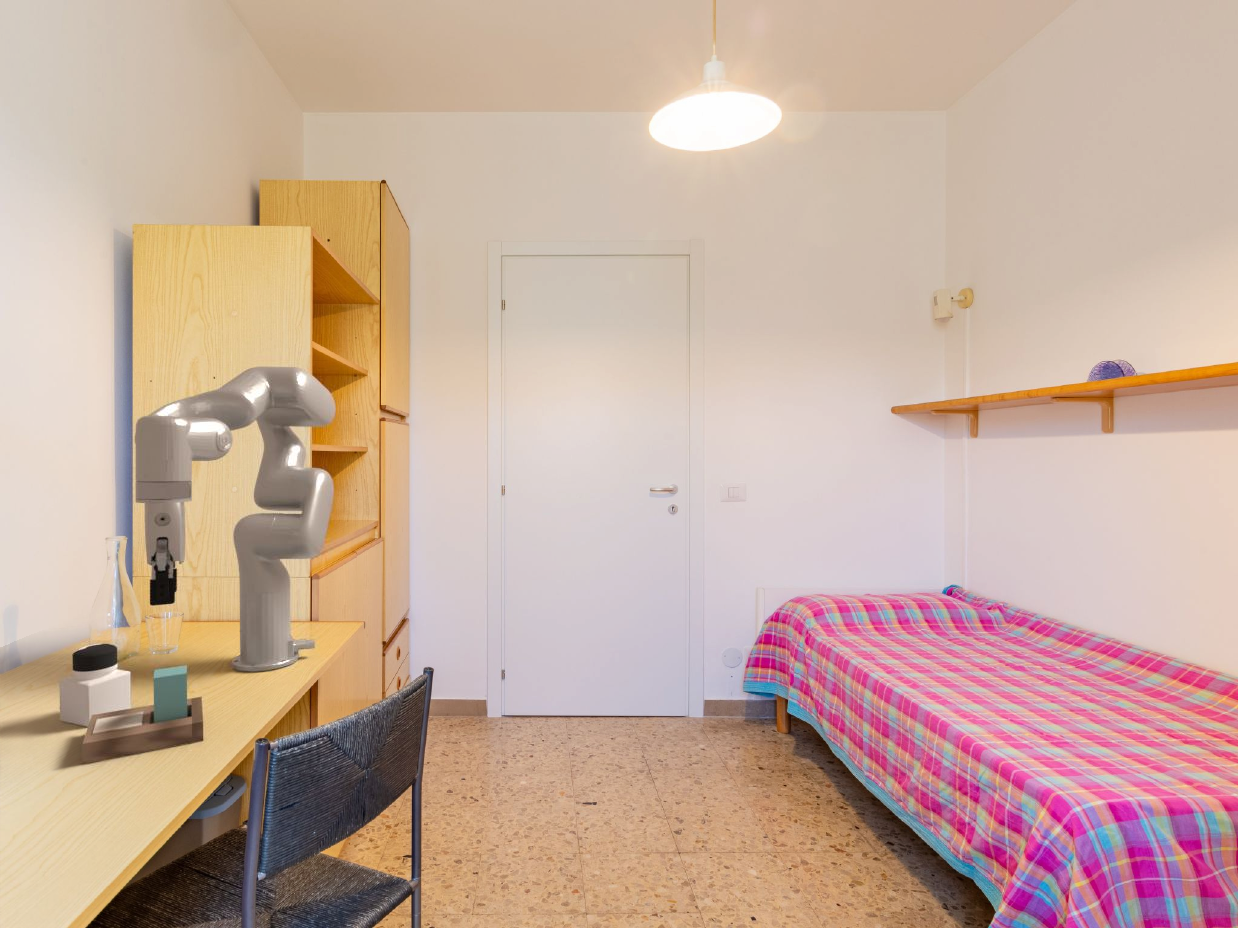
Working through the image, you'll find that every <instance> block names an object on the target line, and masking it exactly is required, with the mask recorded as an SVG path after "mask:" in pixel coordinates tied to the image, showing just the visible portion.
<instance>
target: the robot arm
mask: <svg viewBox="0 0 1238 928" xmlns="http://www.w3.org/2000/svg"><path fill="white" fill-rule="evenodd" d="M336 409H337V407H336V401H335V400H334V397H333V395H332V393H331V392H330V391H329V389H328V388H326V386H325V385H323V384H322V383H321V382H320V380H318V379H317V378H316V376H313V375H312V373H309V372H308V371H306V370H305V369H303V368H301V367H298V366H297V367H296V366H254V367H250V368H247V369H246V370H244V371H242V372H241V373H239V374H238V375H236V376H235V377H234V378H232V379H230V380H229V381H228V382H226V383H225V384H223V385H222V386H221V387H219V388H216V389H214V390H210V391H205V392H202V393H199V394H196V395H193V396H189V397H186V398H181V399H178V400H175V401H172V402H169V403H167V404H165V405H163V406H161V407H159V408H157V409H156V410H154V411H152V412H151V413H150V414H148V415H144V416H141V417H139V418H138V419H137V421H136V423H135V433H134V444H135V503H136V504H137V503H138V504H139V503H140V504H144V540H145V541H144V542H145V552H146V563H147V565H150V566H151V576H150V577H151V578H150V579H149V605H150V606H163V605H172V604H174V603H175V602H176V592H177V591H178V569H177V568H176V562H178V563H179V565H182V564H183V563H184V562H185V560H186V514H185V513H186V511H185V510H186V509H185V503H187V502H192V501H193V500H192V499H193V498H192V496H193V494H192V492H193V491H192V489H193V488H192V487H193V485H192V484H193V482H192V479H193V477H192V475H193V474H192V472H193V471H192V470H193V469H192V467H193V465H192V462H210V461H216V460H220V459H222V458H224V457H225V456H226V455H227V454H229V452H230V451H231V448H232V446H233V440H234V439H233V434H232V431H235V430H240V429H244V428H246V427H249V426H250V425H252V424H253V423H254V422H255V421H256V424H257V426H258V428H259V431H260V434H261V437H262V442H263V452H262V458H261V461H260V465H259V467H258V468H259V469H258V473H257V477H256V481H255V485H254V489H253V501H254V503H255V505H256V506H257V507H258V508H260V509H262V510H266V511H277V513H276V512H273V513H271V512H269V513H267V512H262V513H261V512H260V513H259V512H258V513H253V514H252V513H251V514H249V515H246V516H244V517H242V518H240V519H239V520H238V522H237V523H236V524H235V525H234V529H233V544H234V549H235V553H236V558H237V565H238V574H239V576H238V579H239V651H240V652H239V655H237V656H235V657H233V658H232V660H231V667H232V668H233V670H236V671H239V672H262V671H270V670H271V671H272V670H276V669H281V668H284V667H287V666H289V665H292V664H294V663H296V662H297V661H299V660H298V659H299V656H300V655H299V654H300V653H299V652H300V650H310V649H315V648H316V645H315V638H313V639H312V638H311V639H307V638H301V639H295V638H293V636H292V634H291V633H292V632H291V578H290V574H289V571H288V570H287V568H286V566H285V565H284V563H283V562H282V561H281V560H309V559H313V558H316V557H318V556H319V554H320V553H321V552H322V550H323V548H324V546H325V541H326V536H327V533H328V527H329V521H330V518H331V513H332V509H333V508H332V507H333V503H334V495H335V486H334V480H333V478H332V476H331V474H330V473H329V472H328V470H326V469H322V468H319V467H304V466H305V460H306V455H307V451H306V448H305V446H304V443H303V441H302V440H301V439H300V438H299V437H298V436H297V435H296V433H295V432H294V431H293V429H292V428H291V427H293V428H294V427H295V428H296V427H304V428H305V427H306V428H307V427H308V428H309V427H310V428H311V427H312V428H313V427H314V428H316V427H317V428H319V427H321V428H322V427H326V426H328V425H329V424H331V423H332V422H333V420H334V418H335V416H336V411H337V410H336ZM278 512H279V513H278ZM280 512H301V513H280Z"/></svg>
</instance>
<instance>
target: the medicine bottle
mask: <svg viewBox="0 0 1238 928" xmlns="http://www.w3.org/2000/svg"><path fill="white" fill-rule="evenodd" d="M71 657H72V660H71V661H72V675H70V676H68V677H64V678H61V679H59V680H58V682H59V685H58V686H59V691H58V692H59V720H60V722H63V723H67V724H68V723H69V724H74V725H77V726H82V727H87V728H88V725H89V722H90V719H91V716H92V715H95V714H101V713H107V712H113V711H119V710H125V709H131V708H132V682H131V678H132V677H131V676H132V675H131V674H132V673H131V671H130V670H129V671H127V670H124V669H118V664H119V663H118V646H116V645H114V644H110V643H95V644H90V645H89V644H88V645H86V646H82V647H80V648H78V649H76V650H75V651H74V652H73V653H72V656H71Z"/></svg>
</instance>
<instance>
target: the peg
mask: <svg viewBox="0 0 1238 928" xmlns="http://www.w3.org/2000/svg"><path fill="white" fill-rule="evenodd" d="M187 668H188V666H187V664H185V665H178V666H172V667H165V668H159V669H154V672H153V678H152V679H153V705H154V723H159V722H164V721H170V720H175V719H181V718H186V717H187V699H188V673H187V672H188V669H187Z"/></svg>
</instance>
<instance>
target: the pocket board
mask: <svg viewBox="0 0 1238 928" xmlns="http://www.w3.org/2000/svg"><path fill="white" fill-rule="evenodd" d="M202 699H203V697H202V696H199V697H198V696H197V697H192V698H191V697H190V698H187V717H186V718H181V719H175V720H170V721H164V722H159V723H154V704H151V705H145V706H144V705H143V706H138V707H137V706H136V707H131V709H125V710H119V711H113V712H107V713H101V714H95V715H92V716H91V719H90V722H89V725H88V727H87V729H86V732H85V736H84V738H83V741H82V744H81V745H82V747H81V748H82V749H81V750H82V751H81V752H82V765H85V764H90V763H91V764H92V763H96V762H100V761H106V760H111V759H115V758H121V757H125V756H131V755H137V754H141V753H145V752H151V751H157V750H161V749H165V748H171V747H177V746H182V745H187V744H193V743H197V742H202V741H203V742H204V712H203V700H202Z"/></svg>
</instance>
